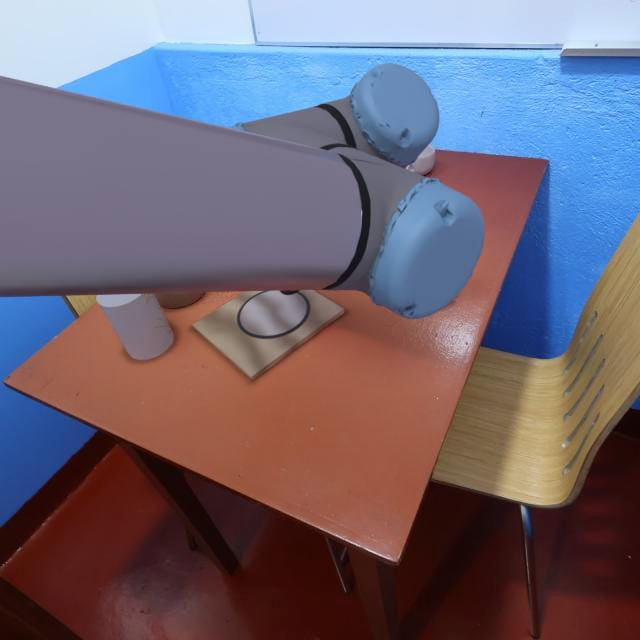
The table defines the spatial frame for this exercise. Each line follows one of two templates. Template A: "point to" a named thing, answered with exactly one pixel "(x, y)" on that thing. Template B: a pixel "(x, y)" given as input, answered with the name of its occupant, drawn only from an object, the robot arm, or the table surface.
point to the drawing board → (266, 326)
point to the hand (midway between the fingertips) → (270, 258)
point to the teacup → (423, 161)
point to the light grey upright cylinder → (138, 323)
